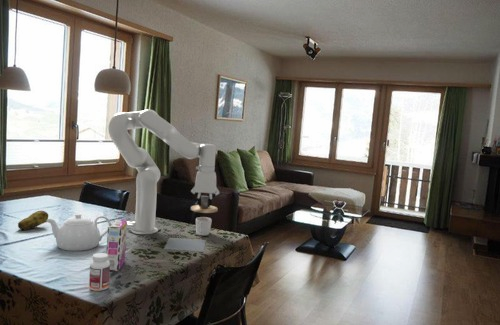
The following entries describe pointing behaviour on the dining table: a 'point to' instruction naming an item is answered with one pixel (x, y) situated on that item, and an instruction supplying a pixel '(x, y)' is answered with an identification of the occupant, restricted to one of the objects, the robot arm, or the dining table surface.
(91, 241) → the teapot
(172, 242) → the mat
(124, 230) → the candy bar box
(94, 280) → the pill bottle
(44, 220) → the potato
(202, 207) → the lid
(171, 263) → the dining table surface
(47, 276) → the dining table surface
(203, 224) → the cup
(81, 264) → the dining table surface
